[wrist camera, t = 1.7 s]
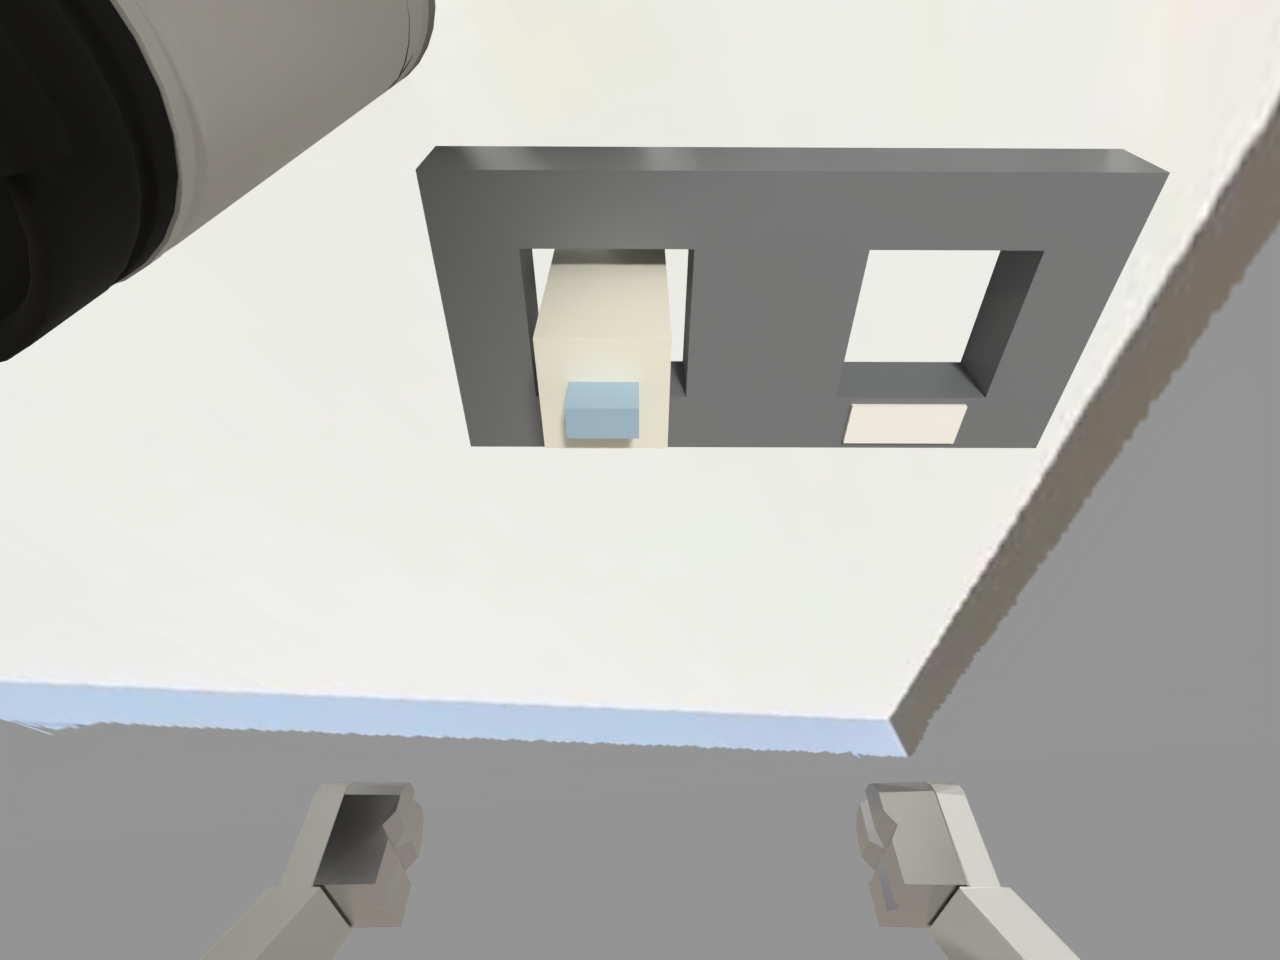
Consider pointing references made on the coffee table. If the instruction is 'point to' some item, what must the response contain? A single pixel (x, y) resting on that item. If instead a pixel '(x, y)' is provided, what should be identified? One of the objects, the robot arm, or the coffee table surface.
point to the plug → (604, 349)
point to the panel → (791, 279)
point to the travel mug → (163, 125)
